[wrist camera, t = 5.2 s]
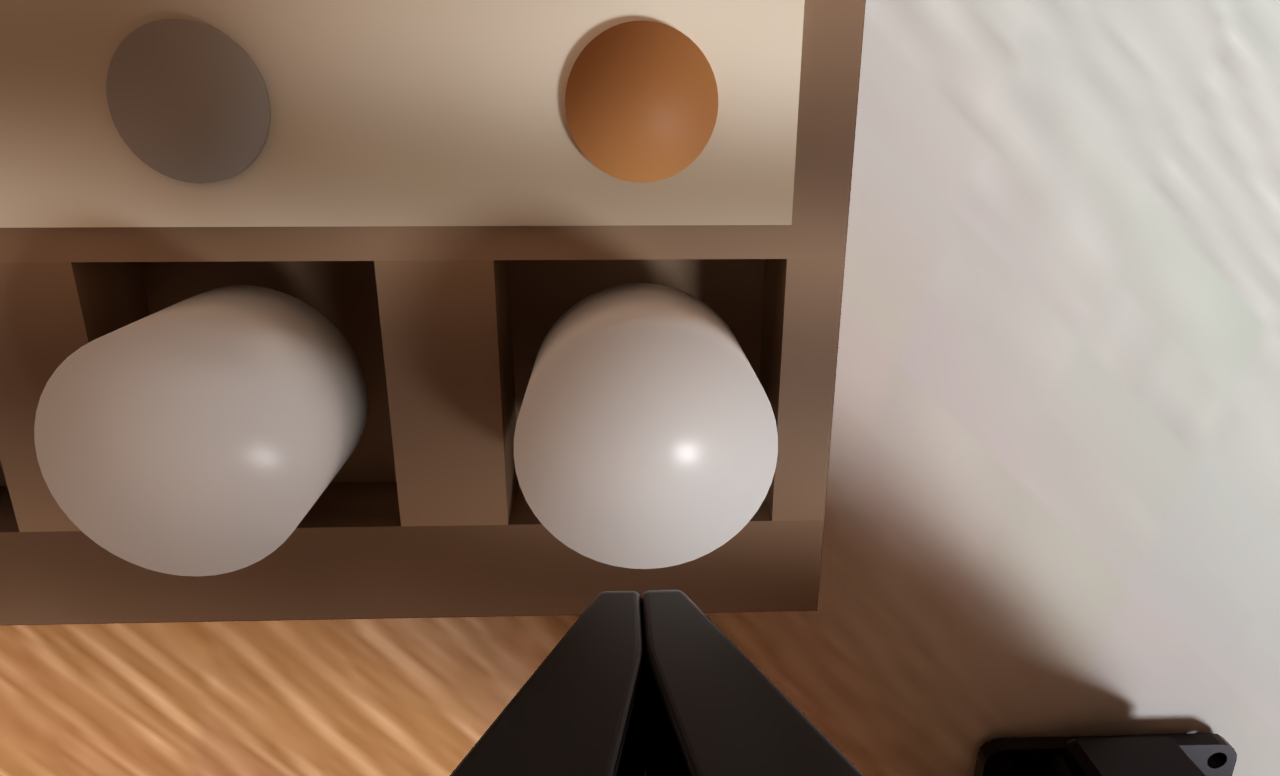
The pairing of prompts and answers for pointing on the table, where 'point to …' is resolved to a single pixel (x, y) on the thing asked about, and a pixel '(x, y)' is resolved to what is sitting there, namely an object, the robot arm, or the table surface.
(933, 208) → the table surface
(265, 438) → the button middle
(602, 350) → the button
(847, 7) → the button board
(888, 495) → the table surface
